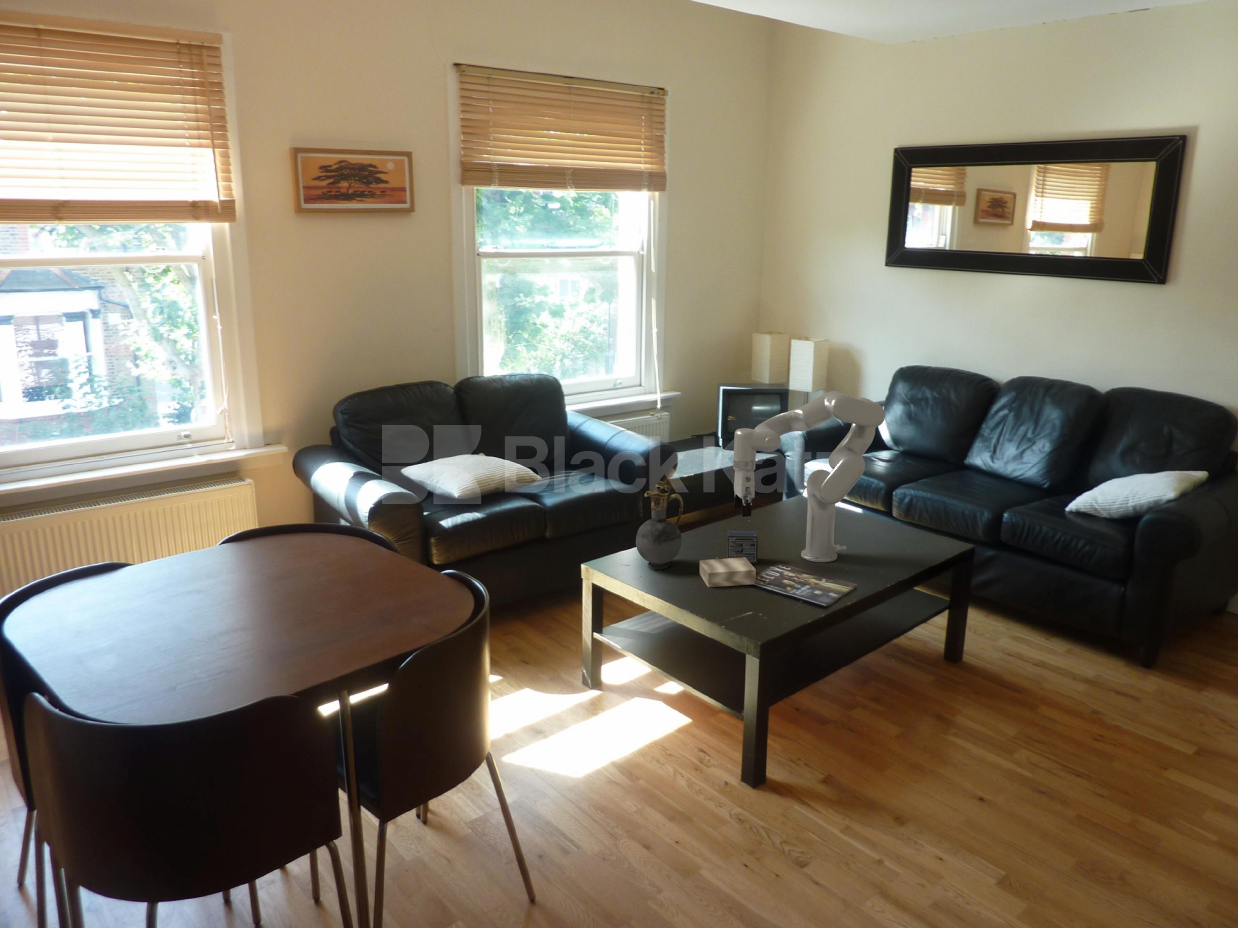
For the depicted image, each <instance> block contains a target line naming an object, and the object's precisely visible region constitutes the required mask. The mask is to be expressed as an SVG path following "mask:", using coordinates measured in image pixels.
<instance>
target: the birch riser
mask: <svg viewBox="0 0 1238 928" xmlns="http://www.w3.org/2000/svg"><path fill="white" fill-rule="evenodd" d="M756 572H757V570H756V568H755V567H754V566H753V564H750V562H749V561H748V560H747V559H746V558H745V557H743V558H728V557H727V558H716V559H713V558H712V559H700V560H699V576H700V577H701V579H702V581H704V583H705V585H706V586H707V587H708V588H715V587H718V588H719V587H730V586H731V587H732V586H744V585H754V584H753V583H755V584H756V577H757V575H756V574H757V573H756Z"/></svg>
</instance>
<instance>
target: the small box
mask: <svg viewBox="0 0 1238 928" xmlns="http://www.w3.org/2000/svg"><path fill="white" fill-rule="evenodd" d="M758 548H759V535H758V530H727V559H728V558H743V557H745V558H746V559H747V560H748V561H749V562H750V564H751V565H758V562H759V561H758V558H759V557H758V555H759V554H758V553H759V549H758Z"/></svg>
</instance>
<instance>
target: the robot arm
mask: <svg viewBox="0 0 1238 928" xmlns="http://www.w3.org/2000/svg"><path fill="white" fill-rule="evenodd" d="M833 418H834V419H835V420H839V421H842V422H845V423H849V424H851V427H850V429H849V431H848V432H847V434H846V435H845V437H844V438H843V439H842V440H841V442H840V443H839V444H838V445H837V446H836V448H835V449H834V450H832V452H831V454H830V456H829V457H828V465H829V467H830V468H831V469H832V470H831V471H828V470H825V469H816V470H813V472H811V473H810V474H809V475H808V477H807V480H806V497H807V514H806V515H807V516H806V534H805V535H806V536H805V539H806V540H805V549H803V550H802V551H801V552H800V553H801V554H800V555H801V557H802V558H803V559H805V560H806V561H809V562H815V563H829V562H833V561H836V560H837V558H838V552H846V551H847V546H846V545H841V544H834V542H835V541H834V539H835V537H834V536H835V519H836V517H835V516H836V504H837V503H839V502H841V501H842V500H843V499H844V498H845V497H846V496H847V495H848V493H850V491H852V489H853V487H855V485H856V484H857V483H858V482H859V480H860V479H861V477H862V476H863V474H864V472H865V469H866V462H865V459H864V458H863V455H864V454H865V453H866V451H867V450H868V449H869V447H871V444H872V442H873V440H874V438H875V435H876V428H877V427H880V426H881V425H882V424H883V422H885V419H886V412H885V409H884V408H883V406H882V405H881V404H879V403H878V402H875V401H873V400H871V399H869V398H866V397H859V398H855V397H852V396H850V395H846V394H845V393H843V392H840V391H839V390H838V391H837V390H831V391H827V392H826V393H824V394H822V395H820V396H818V397H817V398H815V399H813V400H811V401H809V402H807V403H805V404H804V405H802V406H799V407H797V408H794V409H792V410H789V411H786V412H782V413H779V414H777V415H774V416H772V417H770V418H768V419H767V420H765V421H763V422H761V423H759V424H757V426H755V428H754V429H752V428H749V427H748V428H745V427H743V428H737V429H736V430H735V432H734V437H733V438H734V439H733V440H734V442H733V464H732V465H733V467H732V469H733V470H734V481H733V491H734V497H733V498H734V500H733V508H734V509H741V516H742V517H743V518H744V517H745V518H746V517H751V516H752V505H753V504H752V503H753V500H752V499H754V498H755V495H756V493H755V491H756V490H755V485H756V484H755V470H756V462H757V461H756V460H757V459H756V458H757V456H756V455H757V451H759V452H764V453H765V452H767V453H771V452H775V451H776V450H778V449H779V448H780V446H781V443H782V439H781V436H783V435H785V434H789V433H793V432H808V431H811V430H813V429H815V428H816V427H818V426H821V425H822V424H824V423H826V422H828V421H830V420H831V419H833Z"/></svg>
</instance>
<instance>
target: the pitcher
mask: <svg viewBox="0 0 1238 928" xmlns="http://www.w3.org/2000/svg"><path fill="white" fill-rule="evenodd" d="M670 490H671V486H670V485H669V486H668V485H667V484H665V483H664V481H658V482H657V483H656V484H655V488H654V489H649V490H648V489H647V490H646V492H645V493H644V497H645V498H648V497H650V500H651V504H650V505H651V507H650V509H651V519H648V520H646V521H645V522H644V523H643V524H641V525H640V527H639V528H638V530H637V533H636V535H635V547H636V550H637V552H638V554H639V555H640V556H641V558H642V559H643V560H645V561H647V562H648V563H647V567H648V568H649V569H652V570H663V569H668V568H669V567H670V565H671V564H670V562H671V561H673V560H674V559H675V558H676V557H678V555H679V553H680V551H681V546H682V540H683V538H682V533H681V531H680V529H679V527H678V524H679V522H680V519H681V517H682V514H683V511H684V501H683V499H682V496H681V495H680V494H679V493H674V494H671V495H669V494H670V492H671V491H670ZM674 499H676V500H678V502H679V506H680V507H679V509H678V511H679V512H678V517H677V520H676V523H674V522H673V521H671V520H670V519H667V508H668V503H669V502H670V501H672V500H674Z"/></svg>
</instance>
